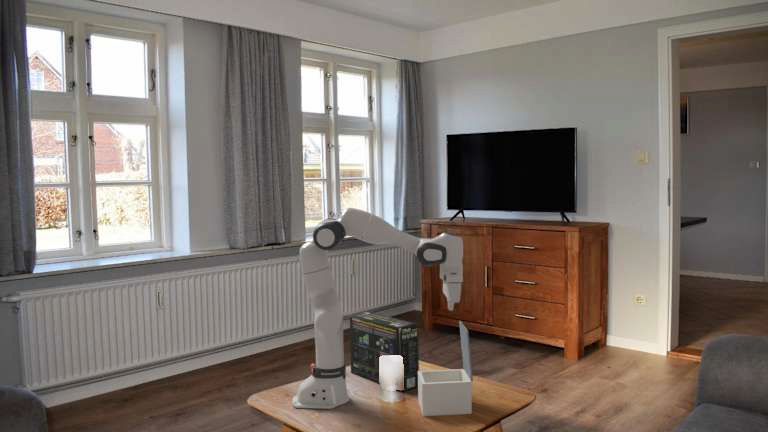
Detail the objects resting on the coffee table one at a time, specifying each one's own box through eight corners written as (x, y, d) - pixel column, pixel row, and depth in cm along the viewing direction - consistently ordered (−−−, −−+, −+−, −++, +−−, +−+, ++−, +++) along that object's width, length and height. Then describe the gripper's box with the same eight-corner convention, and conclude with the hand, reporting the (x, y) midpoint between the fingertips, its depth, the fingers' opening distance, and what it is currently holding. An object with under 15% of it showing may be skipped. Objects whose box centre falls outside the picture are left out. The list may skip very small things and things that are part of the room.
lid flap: (466, 331, 226) (489, 328, 226) (459, 321, 241) (480, 318, 242) (471, 382, 227) (494, 379, 228) (463, 368, 243) (485, 366, 243)
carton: (423, 416, 227) (422, 384, 226) (418, 401, 242) (417, 371, 241) (471, 413, 228) (471, 381, 227) (464, 398, 243) (463, 368, 242)
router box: (421, 386, 259) (419, 323, 257) (401, 393, 252) (399, 328, 250) (368, 367, 286) (366, 310, 285) (349, 372, 279) (347, 314, 278)
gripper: (439, 269, 250) (438, 303, 251) (446, 278, 230) (446, 315, 231) (455, 269, 251) (454, 303, 251) (463, 278, 230) (463, 315, 231)
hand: (450, 309), depth 241 cm, fingers closed
